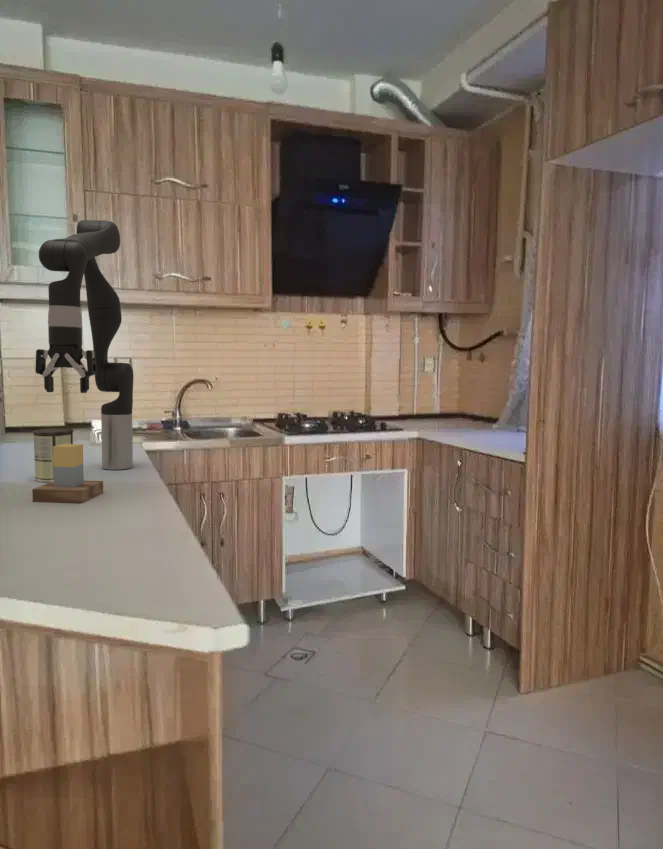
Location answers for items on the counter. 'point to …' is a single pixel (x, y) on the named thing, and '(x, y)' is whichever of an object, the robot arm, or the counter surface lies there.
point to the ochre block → (68, 455)
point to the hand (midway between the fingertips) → (66, 392)
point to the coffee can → (48, 450)
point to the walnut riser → (67, 492)
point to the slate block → (68, 476)
